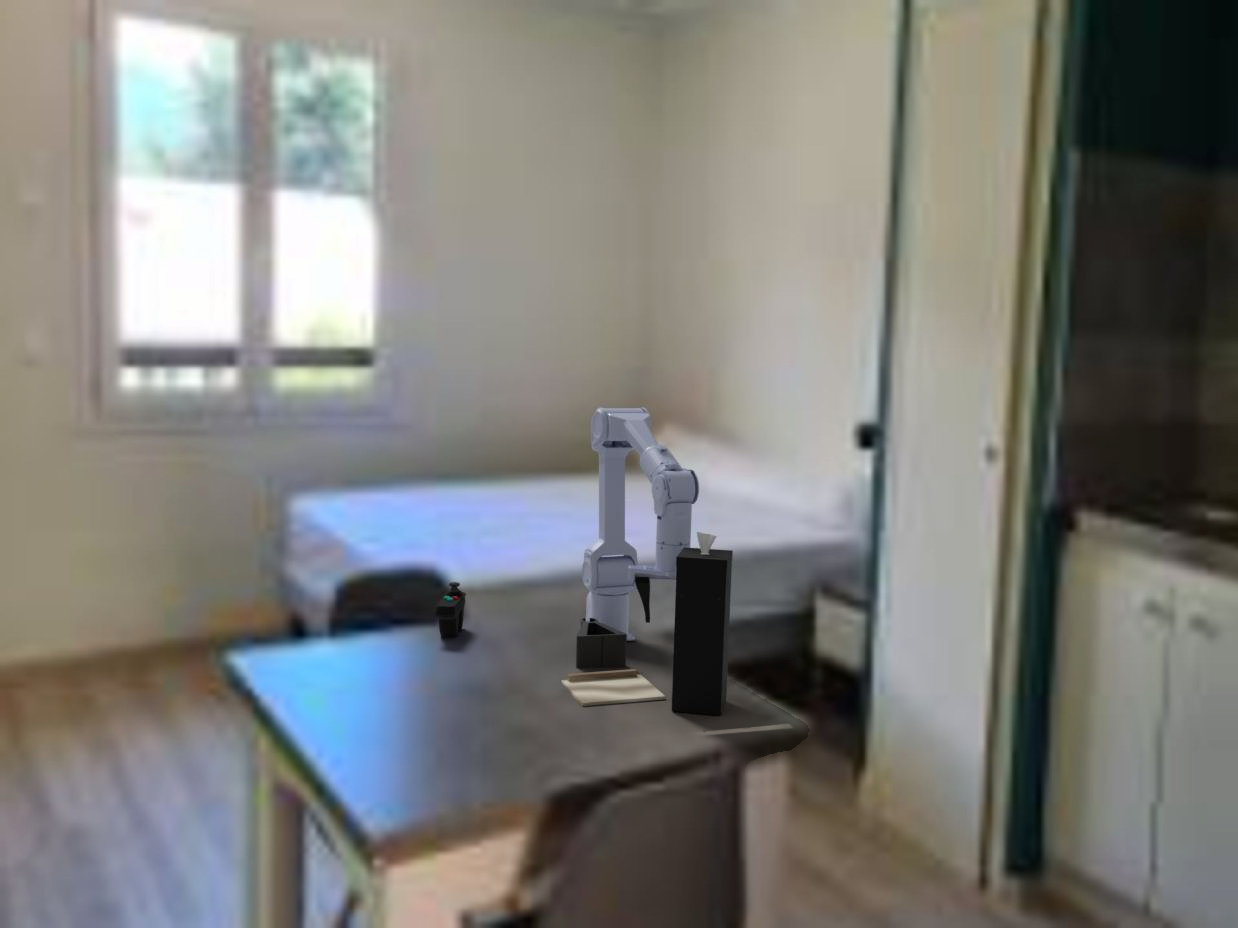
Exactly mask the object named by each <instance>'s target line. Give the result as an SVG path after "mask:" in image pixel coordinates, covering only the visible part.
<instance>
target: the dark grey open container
mask: <svg viewBox="0 0 1238 928" xmlns="http://www.w3.org/2000/svg"><path fill="white" fill-rule="evenodd" d="M575 643H576V649H575V652H576V653H575V654H576V655H575V668H576V669H585V668H586V669H588V668H592V669H593V668H616V667H621V666H622V667H626V666H627V646H628V645H627V643H628V641H627V634H626V633H624V632H621V631H619V630H617V629H614V628H612V627H610V626H607V625H605V624H602V623H600V622H598V621H597V619H595V618H590V622H587V621H586V617H584V618H583V617H582V618H581V619H580V628H579V630H578V632H577V635H576V642H575Z"/></svg>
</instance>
